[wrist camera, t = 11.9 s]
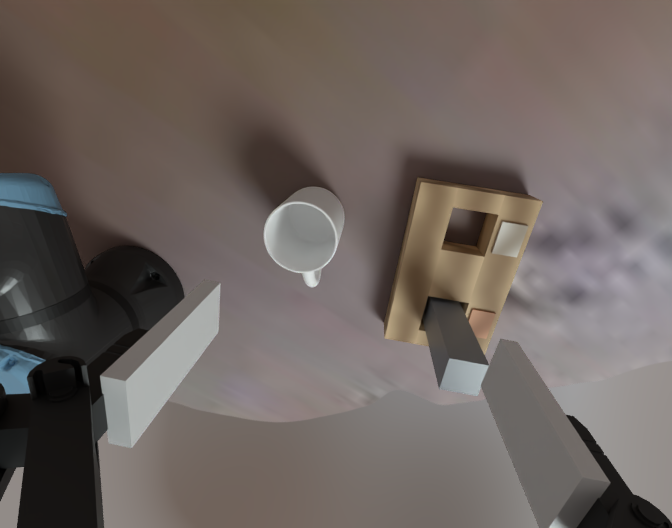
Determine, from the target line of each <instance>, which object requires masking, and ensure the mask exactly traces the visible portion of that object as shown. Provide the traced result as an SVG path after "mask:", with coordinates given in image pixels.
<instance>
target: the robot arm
mask: <svg viewBox="0 0 672 528" xmlns="http://www.w3.org/2000/svg"><path fill="white" fill-rule="evenodd" d="M66 216H67V213H66V212H65V211H63V210H62V207H61V205H60V202H59V200H58V198H57V195H56V193H55V191H54V188H53V186H52V185H51V183H50V182H49V181H48V180H46V179H45V178H43V177H41V176H39V175H36V174H31V173H0V501H1V499H2V497H3V494H4V492H5V490H6V488H7V486H8V484H9V482H10V480H11V477H12V475H13V473H14V471H15V469H16V467H24V473H23V481H22V489H21V498H20V506H19V515H18V523H17V528H104V520H103V506H102V492H101V478H100V465H99V450H98V442H97V441H98V440H99V439H100V438H101V436H102V435H103V434H104V433H105V432H106V431H107V434H108V443H110V444H115V445H120V446H124V447H129V448H132V447H133V446H134V444H135V443H136V442H137V440H138V439H139V438H140V436H141V435H142V434H143V432H144V431H145V430H146V428H147V427H148V426H149V424H150V423H151V422H152V420H153V419H154V418H155V416H156V415H157V413H158V412H159V411H160V409H161V408H162V407H163V406H164V404H165V403H166V402H167V400H168V399H169V398H170V396H171V395H172V393H173V392H174V391H175V389H176V388H177V387H178V385H179V384H180V383H181V381H182V380H183V379H184V377H185V376H186V375H187V373H188V372H189V371H190V369H191V368H192V367H193V365H194V364H195V363H196V361H197V360H198V359H199V357H200V356H201V355H202V353H203V352H204V351H205V349H206V348H207V347H208V345H209V344H210V343H211V341H212V340H213V339H214V337H215V336H216V335H217V333H218V331H219V306H220V283H219V282H214V281H209V280H204V281H202V282H201V283H200V284H199V285H198V286H197V287H196V288H195V289H194V290H193V291H192V292H190V293H189V294H188V295H187V296H186V297H185V298H184V292H183V288H182V285H181V283H180V281H179V279H178V277H177V275H176V274H175V272H174V271H173V270H172V269H171V267H170V266H169V265H168V264H167V263H166V262H165V261H163V260H162V259H161V258H160V257H158V256H157V255H155V254H153V253H152V252H150V251H147V250H145V249H142V248H139V247H134V246H119V247H114V248H112V249H109V250H107V251H105V252H103V253H101V254H99V255H97V256H96V257H95V258H93V259H92V260H91V261H90V262H89V263H88V265H87V266H86V268H85V270H84V267H83V265H82V262H81V259H80V256H79V253H78V250H77V248H76V245H75V242H74V239H73V236H72V233H71V230H70V228H69V225H68V222H67V219H66ZM481 387H482V390H483V392H484V395H485V397H486V400H487V402H488V404H489V407H490V409H491V412H492V414H493V416H494V419H495V421H496V424H497V426H498V429H499V431H500V433H501V436H502V438H503V441H504V443H505V446H506V448H507V451H508V453H509V455H510V458H511V460H512V463H513V465H514V468H515V470H516V472H517V475H518V477H519V480H520V482H521V485H522V487H523V489H524V492H525V494H526V496H527V499H528V502H529V504H530V506H531V509H532V511H533V514H534V516H535V518H536V521H537V524H538V526H539V528H672V523H671V522H670V520H669V519H668V518H667V517H666V516H665V515H664V514H663V513H662V512H661V511H660V510H659V509H658V508H656V507H655V506H654V505H652V504H651V503H650V502H648V501H647V500H645V499H643V498H641V497H639V496H637V495H633V494H632V492H631V491H630V489H629V488H628V487H627V485H626V484H625V482H624V481H623V479H622V478H621V476H620V475H619V474H618V472H617V471H616V469H615V468H614V467H613V465H612V464H611V462H610V461H609V459H608V458H607V456H606V455H604V452H603V451H602V449H601V448H600V447H599V445H598V444H596V441H595V439H594V438H593V437H592V435H591V434H590V432H589V431H588V430H587V428H586V427H584V426H583V425H582V424H581V423H580V422H579V421H578V420H577V419H576V418H575V417H574V416H569V415H565V413H564V412H563V410H562V409H561V407H560V406H559V404H558V403H557V401H556V400H555V399H554V397H553V395H552V394H551V392H550V391H549V389H548V388H547V386H546V385H545V383H544V381H543V380H542V378H541V377H540V375H539V374H538V372H537V371H536V369H535V368H534V366H533V365H532V363H531V362H530V360H529V359H528V357H527V356H526V354H525V353H524V351H523V350H522V348H521V347H520V345H519V344H518V342H514V341H509V340H504V339H500V341H499V344H498V346H497V348H496V351H495V353H494V355H493V358H492V360H491V362H490V365H489V367H488V369H487V372H486V374H485V376H484V379H483V381H482V383H481Z"/></svg>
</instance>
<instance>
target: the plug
mask: <svg viewBox="0 0 672 528" xmlns="http://www.w3.org/2000/svg"><path fill="white" fill-rule="evenodd" d="M422 319H423V323H424V327H425V331H426V336H427V340H428V344H429V348H430V352H431V357H432V361H433V365H434V369H435V373H436V378H437V382H438V386H439V389H442V390H448V391H453V392H458V393H464V394H469V395H474V396H478V393H479V391H480V388H481V383H482V381H483V379H484V376H485V374H486V372H487V369H488V367H489V364H488V362H487V360H486V357H485V355H484V353H483V351H482V349H481V347H480V345H479V343H478V340H477V338H476V336H475V334H474V332H473V330H472V328H471V325H470V323H469V321H468V319H467V317H466V315H465V313H464V311H463V308H462V306H461V304H460V302H459V301H454V300H448V299H443V298H437V297H431V296H428V298H427V302H426V306H425V309H424V313H423V316H422Z"/></svg>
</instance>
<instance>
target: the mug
mask: <svg viewBox="0 0 672 528" xmlns="http://www.w3.org/2000/svg"><path fill="white" fill-rule="evenodd" d="M344 221H345V215H344V210H343V207H342V204H341V202H340V201H339V199H338V198H337V197H336V196H335V195H334V194H333V193H332V192H330V191H329V190H327V189H324V188H321V187H306V188H302V189H300V190H298V191H296V192H295V193H294V194H292V195H291V196H290V197H289V198H288V199H286V200H285V201H284V202H283V203H282V204H280V205H279V206H278V207H277V208H276V209H274V210H273V211H272V213H271V214H270V215H269V217H268V218H267V220H266V223H265V226H264V233H263V236H264V243H265V246H266V249H267V251H268V253H269V254H270V256H271V257H272V258H273V260H274V261H275V262H276V263H277V264H279V265H280V266H281V267H283V268H285V269H287V270H289V271H293V272H297V273H302V276H303V279H304V281H305V283H306V284H307V285H308V286H309V287H315V286H317V285H318V283H319V281H320V277H321V268H322V267H324V266H325V265H326V264H328V263H329V261H330V260H331V259H332V257H333V256H334V254H335V252H336V249H337V245H338V242H339V239H340V236H341V233H342V230H343V226H344Z"/></svg>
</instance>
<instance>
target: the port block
mask: <svg viewBox="0 0 672 528" xmlns="http://www.w3.org/2000/svg"><path fill="white" fill-rule="evenodd" d="M542 203H543V201H541V200H539V199H537V198H534V197H532V196H530V195H526V194H520V193H514V192H508V191H501V190H495V189H489V188H482V187H476V186H470V185H464V184H457V183H451V182H445V181H438V180H432V179H426V178H420V177H417V181H416V186H415V190H414V195H413V199H412V203H411V208H410V212H409V216H408V221H407V225H406V229H405V234H404V238H403V242H402V247H401V251H400V256H399V260H398V264H397V269H396V273H395V277H394V282H393V286H392V290H391V295H390V299H389V304H388V308H387V312H386V317H385V321H384V337H385V338H386V339H391V340H397V341H402V342H408V343H413V344H419V345H424V346H429V344H428V340H427V336H426V331H425V327H424V323H423V319H422V316H423V313H424V309H425V306H426V302H427V298H428V296H431V297H437V298H443V299H448V300H454V301H459V302H460V304H461V306H462V308H463V311H464V313H465V315H466V317H467V319H468V321H469V323H470V325H471V328H472V330H473V332H474V334H475V336H476V338H477V340H478V343H479V345H480V347H481V349H482V351H483V353H484V355H485V353H486V350H487V347H488V345H489V342H490V340H491V337H492V334H493V332H494V329H495V326H496V324H497V321H498V318H499V316H500V313H501V311H502V308H503V305H504V303H505V300H506V297H507V295H508V292H509V290H510V287H511V284H512V282H513V279H514V276H515V274H516V271H517V269H518V266H519V263H520V261H521V258H522V255H523V253H524V250H525V248H526V245H527V242H528V240H529V237H530V234H531V232H532V229H533V226H534V224H535V221H536V219H537V216H538V213H539V211H540V208H541V205H542ZM453 207H454V208H460V209H466V210H473V211H479V212H485V213H486V217H485V220H484V223H483V226H482V229H481V232H480V235H479V238H478V242H477V245H476V246H471V245H465V244H459V243H453V242H447V241H444V237H445V234H446V230H447V227H448V223H449V219H450V216H451V212H452V209H453Z"/></svg>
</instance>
